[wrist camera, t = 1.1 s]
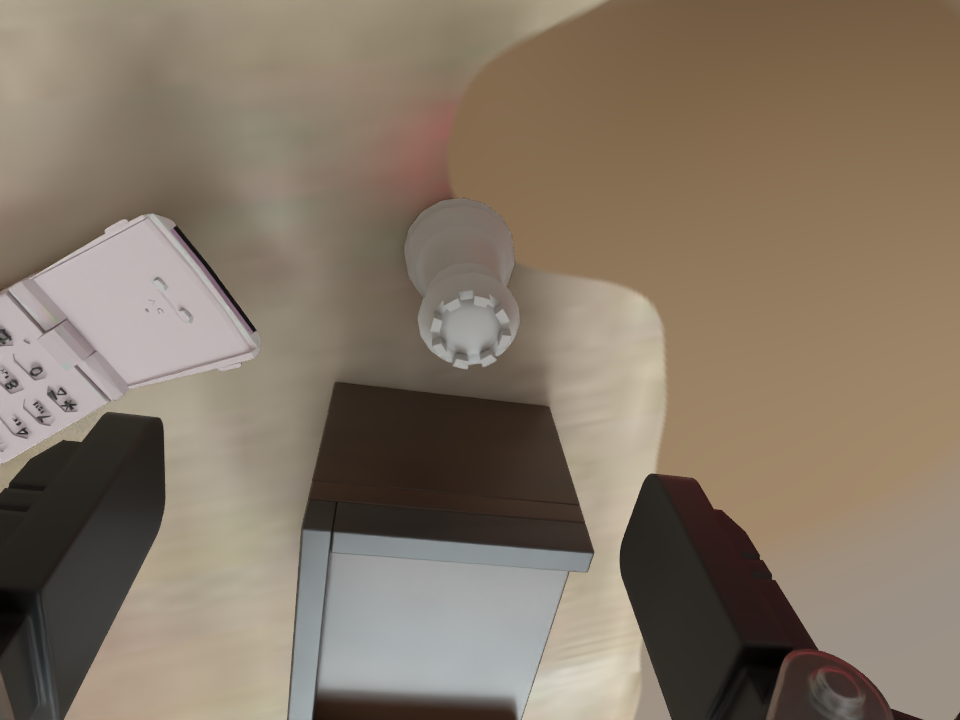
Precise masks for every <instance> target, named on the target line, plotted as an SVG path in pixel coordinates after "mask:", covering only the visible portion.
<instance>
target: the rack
mask: <svg viewBox="0 0 960 720" xmlns="http://www.w3.org/2000/svg"><path fill="white" fill-rule="evenodd" d="M593 555H594V550H593V547H592V543H591V540H590V537H589V534H588V530H587V527H586V525H585V521H584V517H583V514H582V511H581V508H580V504H579V501H578V498H577V494H576V491H575V488H574V485H573V481H572V478H571V475H570V472H569V468H568V465H567V462H566V459H565V456H564V452H563V449H562V446H561V443H560V439H559V436H558V433H557V430H556V426H555V423H554V420H553V417H552V413H551V410H550V407H544V406H536V405H527V404H518V403H509V402H501V401H492V400H483V399H474V398H466V397H457V396H448V395H440V394H431V393H422V392H413V391H405V390H396V389H387V388H378V387H370V386H361V385H352V384H344V383H334V387H333V391H332V396H331V400H330V404H329V409H328V413H327V418H326V422H325V426H324V431H323V435H322V440H321V444H320V448H319V453H318V457H317V462H316V466H315V470H314V475H313V479H312V484H311V488H310V493H309V497H308V502H307V506H306V510H305V515H304V519H303V523H302V528H301V540H300V553H299V567H298V580H297V594H296V607H295V621H294V634H293V648H292V661H291V675H290V688H289V702H288V715H287V720H522V717H523V713H524V710H525V707H526V704H527V701H528V698H529V695H530V692H531V689H532V686H533V683H534V679H535V676H536V673H537V670H538V667H539V664H540V661H541V658H542V655H543V652H544V649H545V646H546V642H547V639H548V636H549V633H550V630H551V627H552V624H553V621H554V618H555V615H556V612H557V609H558V605H559V602H560V599H561V596H562V593H563V590H564V587H565V584H566V581H567V578H568V575H569V571H574V572H588V570H589V567H590V564H591V561H592V558H593Z"/></svg>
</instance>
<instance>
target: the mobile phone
mask: <svg viewBox="0 0 960 720" xmlns="http://www.w3.org/2000/svg"><path fill="white" fill-rule="evenodd" d="M259 353H260V336H259V334H258V332H257V330H256V329H255V327H254V326H253V325H252V323H251V322H250V320H249V319H248V318H247V316H246V315H245V314H244V312H243V311H242V310H241V308H240V307H239V305H238V304H237V303H236V301H235V300H234V299H233V297H232V296H231V295H230V293H229V292H228V290H227V289H226V288H225V286H224V285H223V284H222V282H221V281H220V280H219V278H218V277H217V275H216V274H215V273H214V271H213V270H212V269H211V267H210V266H209V265H208V264H207V262H206V261H205V260H204V259H203V257H202V256H201V255H200V254H199V252H198V251H197V250H196V249H195V248H194V246H193V245H192V244H191V243H190V241H189V240H188V239H187V238H186V237H185V235H184V234H183V233H182V232H181V230H180V229H179V228H178V227H177V225H176V224H175V223H174V222H173V221H172V220H170V219H168V218H165V217H162V216H159V215H156V214H153V213H152V214H146V215H141V216H139V217H137V218H135V219H133V220H131V221H128V220H127V219H122V220H120V221H119V222H117V223H115V224H113V225H111V226H110V227H108V228H106V229H105V234H104V235H102V236H100V237H98V238H96V239H95V240H93V241H91V242H90V243H88V244H86V245H85V246H83V247H81V248H80V249H78V250H76V251H75V252H73V253H71V254H70V255H68V256H66V257H65V258H63V259H61V260H60V261H58V262H56V263H55V264H53V265H51V266H50V267H48V268H46V269H45V270H43V271H41V272H36V273H33V274H31V275H30V276H28V277H26V278H24V279H22V280H20V281H19V282H17V283H15V284H13V285H11V286H9V287H8V288H6V289H4V290H2V291H0V465H1V464H3V463H5V462H7V461H8V460H10V459H12V458H14V457H15V456H17V455H19V454H20V453H22V452H24V451H26V450H27V449H29V448H31V447H33V446H34V445H36V444H38V443H39V442H41V441H43V440H45V439H46V438H48V437H50V436H52V435H53V434H55V433H57V432H58V431H60V430H62V429H64V428H65V427H67V426H69V425H70V424H72V423H74V422H76V421H77V420H79V419H81V418H83V417H84V416H86V415H88V414H89V413H91V412H93V411H95V410H96V409H98V408H100V407H102V406H103V405H105V404H107V403H108V402H110V401H111V400H114V401H116V400H117V399H119V398H120V397H122V396H123V395H124V394H125V393H126V392H127V391H128V390H129V389H133V388H137V387H141V386H145V385H149V384H154V383H158V382H162V381H166V380H171V379H175V378H179V377H183V376H188V375H192V374H196V373H200V372H205V371H209V370H214V369H217V370H218V371H221V372H223V371H227V370H231V369H234V368H238V367H240V366H241V365H242V363H241V362H243V361H246V360H250V359H254V358H255V357H256V356H257V355H258V354H259Z"/></svg>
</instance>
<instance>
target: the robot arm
mask: <svg viewBox="0 0 960 720" xmlns="http://www.w3.org/2000/svg"><path fill="white" fill-rule="evenodd" d="M164 506H165V463H164V430H163V423H162V420H161V419H160V418H158V417H150V416H141V415H132V414H123V413H114V412H107V413H105V414H104V415H103V416H102V417H101V418H100V420H99V421H98V422H97V423H96V425H95V426H94V427H93V428H92V430H91V431H90V432H89V434H88V435H87V436H86V437H85V439H84V440H83V441H82V442H75V441H66V440H63V441H61V442H59V443H58V444H56V445H54V446H52V447H51V448H49V449H47V450H45V451H44V452H42V453H40V454H38V455H37V456H35V457H33V458H32V459H30V460H29V461H28V462H27V464H26V465H25V466H24V467H23V468H22V469H21V470H20V472H19V473H18V474H17V475H16V476H15V477H14V478H13V480H12V481H11V482H10V483H9V487H8V488H5V489H4V490H3V491H2V492H1V493H0V720H64V718H65V716H66V714H67V712H68V710H69V708H70V706H71V704H72V702H73V700H74V698H75V696H76V694H77V692H78V690H79V688H80V686H81V684H82V682H83V680H84V678H85V676H86V674H87V672H88V670H89V668H90V666H91V664H92V662H93V661H94V659H95V657H96V655H97V653H98V651H99V649H100V647H101V645H102V643H103V641H104V639H105V637H106V635H107V633H108V631H109V629H110V627H111V625H112V623H113V621H114V619H115V617H116V615H117V613H118V611H119V609H120V607H121V605H122V603H123V601H124V599H125V597H126V595H127V593H128V591H129V589H130V587H131V585H132V584H133V582H134V580H135V578H136V576H137V574H138V572H139V570H140V568H141V566H142V564H143V562H144V560H145V558H146V556H147V554H148V552H149V550H150V548H151V546H152V544H153V542H154V540H155V538H156V536H157V534H158V531H159V528H160V525H161V521H162V517H163V513H164ZM620 571H621V576H622V579H623V582H624V585H625V588H626V591H627V594H628V596H629V599H630V602H631V605H632V608H633V611H634V614H635V616H636V619H637V622H638V625H639V628H640V631H641V633H642V636H643V639H644V642H645V645H646V648H647V651H648V653H649V656H650V659H651V662H652V665H653V668H654V671H655V673H656V676H657V679H658V682H659V685H660V687H661V690H662V693H663V696H664V699H665V702H666V705H667V708H668V710H669V713H670V716H671V719H672V720H922V719H919V718H917V717H914V716H911V715H908V714H904V713H902V712H899V711H896V710H893V709H891V708H890V707H889V705H888V703H887V701H886V699H885V698H884V696H883V695H882V693H881V692H880V691H879V690H878V688H877V687H876V686H875V685H874V684H873V683H872V682H871V681H870V680H869V679H868V678H867V677H866V676H865V675H864V674H863V673H861V672H860V671H859V670H857V669H856V668H854V667H853V666H852V665H850V664H849V663H847V662H845V661H844V660H842V659H840V658H838V657H836V656H834V655H831V654H828V653H826V652H823V651H819V650H818V648H817V647H816V646H815V644H814V642H813V640H812V639H811V637H810V636H809V634H808V632H807V631H806V629H805V627H804V626H803V624H802V623H801V621H800V619H799V618H798V616H797V614H796V613H795V611H794V610H793V608H792V606H791V605H790V603H789V602H788V600H787V598H786V597H785V595H784V594H783V592H782V590H781V589H780V587H779V586H778V584H777V582H776V581H775V580H772V574H771V572H770V571H769V569H768V568H767V566H766V564H765V563H764V561H763V560H760V555H759V553H758V551H757V550H756V548H755V547H754V545H753V543H752V542H751V540H750V539H749V537H748V535H747V534H746V532H745V531H744V530H743V529H742V528H741V527H740V526H738V525H737V524H736V523H735V522H734V521H733V520H732V519H731V518H730V517H729V516H727V515H726V514H725V513H724V512H723V511H722V510H716V509H713V507H712V505H711V504H710V502H709V501H708V498H707V497H706V495H705V493H704V492H703V490H702V488H701V486H700V485H699V483H698V482H697V481H696V480H695V479H693V478H687V477H678V476H669V475H661V474H650V475H648V476H647V477H646V479H645V480H644V482H643V485H642V487H641V490H640V493H639V496H638V498H637V501H636V504H635V507H634V509H633V512H632V515H631V518H630V521H629V523H628V526H627V529H626V532H625V534H624V537H623V540H622V544H621V549H620ZM954 720H960V713H959V714H958V715H957V717H956V718H955V719H954Z"/></svg>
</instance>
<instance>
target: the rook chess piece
mask: <svg viewBox="0 0 960 720" xmlns="http://www.w3.org/2000/svg"><path fill="white" fill-rule="evenodd" d="M404 253H405V259H406V265H407V271H408V277H409V278H410V280H411V281H412V283H413V284H414V286H415V288H416V289H417V291H418V292H419V294H420V295H421V296H422V297H424V299H423V300H422V303H421V307H420V311H419V314H418V324H419V330H420V336H421V337H422V339H423V340H424V342H425V343H426V345H427V346H428V348H429V349H430V351H431V352H433V353H434V354H436V355H437V356H439V357H440V358H442V359H443V360H445V361H447V362H451V363H452V365H453V367H458V368H462V369H467V370H468V365H473V364H481V363H482V366H483V368H484V367H485V366H487V365H489V364H491V363H493V362H495V361H497V359H496V357H497V356H499V355H501V354H502V353H503V352H504V351H505V350H506V349H507V348H508V346H509V345H510V344H511V343H512V342H513V341H514V338H515V335H516V333H517V330H518V327H519V324H520V320H519V308H518V304H517V302H516V300H515V298H514V297H513V295H512V293H511V291H510V290H509V288H507V287H506V286H507V284H508V282H509V279H510V276H511V273H512V270H513V267H514V264H515V260H514V249H513V240H512V234H511V233H510V230H509V229H508V227H507V225H506V223H505V221H504V219H503V218H502V216H500V215H499V214H498V213H497V212H495V211H494V210H493V209H491V208H490V207H489V206H488V205H486V204H485V203H481V202H477V201H474V200H470V199H467V198H457V199H449V200H441V201H440V202H438V203H436V204H434V205H433V206H431V207H429V208H427V209H426V210H424V211H422V212H421V214H420V215H419V216H418V218H417V219H416V220H415V221H414V223H413V224H412V225H411V227H410V228H409V231H408V235H407V239H406V242H405V246H404Z"/></svg>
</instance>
